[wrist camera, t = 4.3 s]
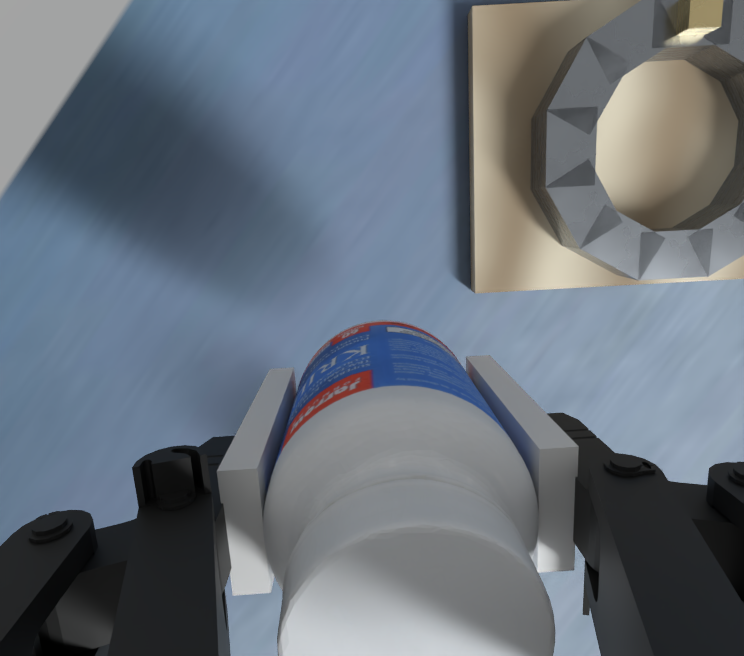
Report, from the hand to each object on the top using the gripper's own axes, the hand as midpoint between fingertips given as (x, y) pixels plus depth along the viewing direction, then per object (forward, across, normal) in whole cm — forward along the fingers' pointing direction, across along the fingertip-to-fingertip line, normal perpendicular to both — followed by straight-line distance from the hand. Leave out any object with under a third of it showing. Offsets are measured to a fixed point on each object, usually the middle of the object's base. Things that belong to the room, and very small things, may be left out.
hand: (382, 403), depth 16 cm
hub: (+9, +13, +8) cm, 18 cm away
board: (+9, +13, +8) cm, 18 cm away
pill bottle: (+1, 0, 0) cm, 1 cm away
